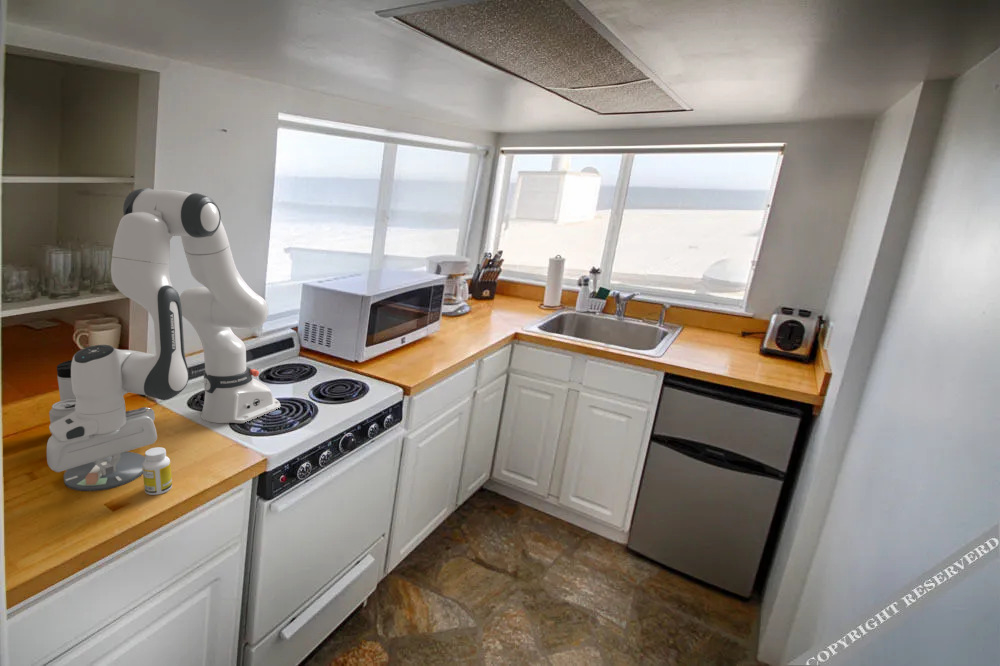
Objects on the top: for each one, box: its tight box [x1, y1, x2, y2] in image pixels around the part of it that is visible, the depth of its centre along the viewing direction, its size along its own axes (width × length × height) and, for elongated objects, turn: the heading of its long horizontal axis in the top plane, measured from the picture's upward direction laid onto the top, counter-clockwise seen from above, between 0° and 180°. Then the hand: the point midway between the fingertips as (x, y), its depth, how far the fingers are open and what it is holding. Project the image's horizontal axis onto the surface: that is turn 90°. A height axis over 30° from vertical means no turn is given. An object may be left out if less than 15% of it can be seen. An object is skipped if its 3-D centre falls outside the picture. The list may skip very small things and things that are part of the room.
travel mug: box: [56, 359, 76, 401], centre depth 141 cm, size 6×7×20 cm
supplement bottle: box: [142, 446, 173, 496], centre depth 121 cm, size 5×5×10 cm
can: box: [48, 399, 76, 424], centre depth 134 cm, size 8×8×12 cm
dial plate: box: [63, 451, 146, 492], centre depth 126 cm, size 16×16×1 cm
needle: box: [85, 456, 117, 485], centre depth 122 cm, size 11×4×4 cm, turn 18°
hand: (108, 472), depth 121 cm, fingers closed
